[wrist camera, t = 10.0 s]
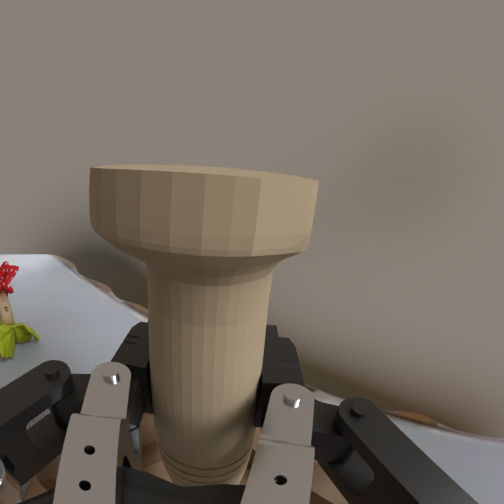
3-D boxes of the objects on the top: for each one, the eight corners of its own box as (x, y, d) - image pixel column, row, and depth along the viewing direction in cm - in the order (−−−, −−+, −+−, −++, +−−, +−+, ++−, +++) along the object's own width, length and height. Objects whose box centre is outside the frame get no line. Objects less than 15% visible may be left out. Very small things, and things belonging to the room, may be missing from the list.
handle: (263, 455, 14) (319, 179, 9) (233, 545, 8) (316, 187, 3) (185, 433, 15) (187, 164, 10) (139, 512, 9) (46, 169, 4)
